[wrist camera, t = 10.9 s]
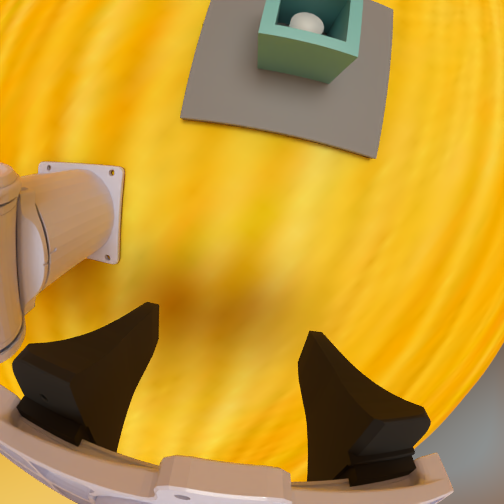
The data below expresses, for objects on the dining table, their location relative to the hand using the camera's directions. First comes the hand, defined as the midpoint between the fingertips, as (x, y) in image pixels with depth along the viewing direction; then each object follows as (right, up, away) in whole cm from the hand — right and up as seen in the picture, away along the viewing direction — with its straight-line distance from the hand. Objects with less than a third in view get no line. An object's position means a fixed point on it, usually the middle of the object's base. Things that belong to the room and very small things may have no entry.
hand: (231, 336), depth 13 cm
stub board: (+4, +19, +3) cm, 19 cm away
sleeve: (+4, +18, +2) cm, 19 cm away
